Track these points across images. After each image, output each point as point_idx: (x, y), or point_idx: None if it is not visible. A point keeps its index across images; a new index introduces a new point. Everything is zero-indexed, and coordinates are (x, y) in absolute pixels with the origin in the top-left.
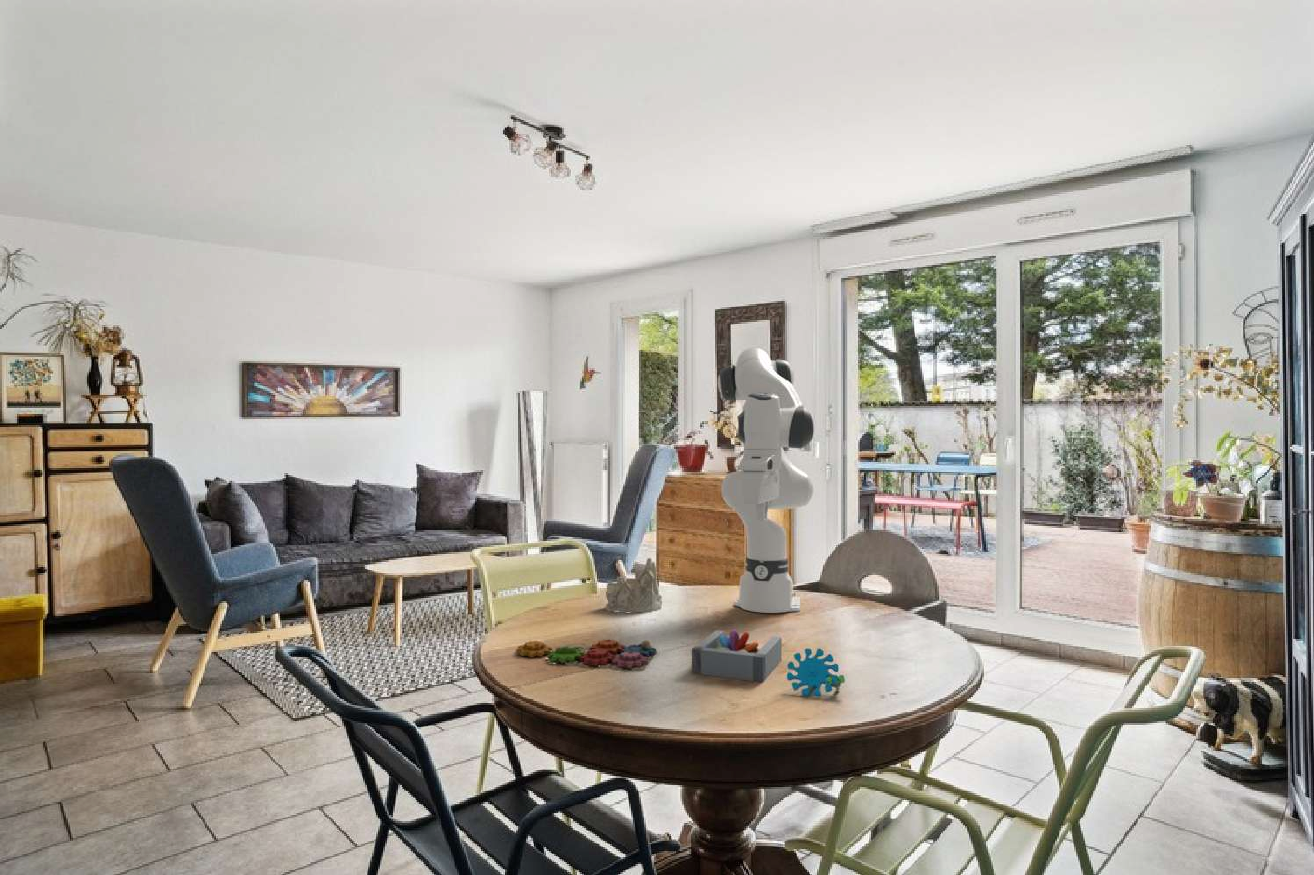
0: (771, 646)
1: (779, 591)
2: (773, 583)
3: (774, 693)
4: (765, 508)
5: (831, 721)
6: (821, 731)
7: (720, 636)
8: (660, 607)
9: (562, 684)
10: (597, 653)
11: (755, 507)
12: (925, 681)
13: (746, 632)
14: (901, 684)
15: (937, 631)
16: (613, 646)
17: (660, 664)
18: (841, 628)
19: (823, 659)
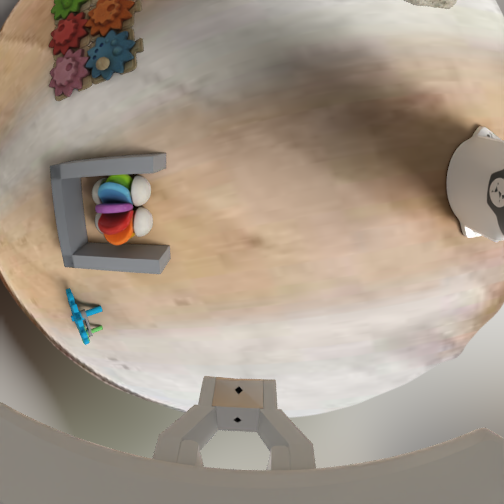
0: (108, 268)
1: (477, 216)
2: (485, 210)
3: (61, 271)
4: (271, 446)
5: (42, 321)
6: (26, 314)
7: (104, 185)
8: (416, 3)
9: (9, 62)
10: (55, 38)
11: (164, 431)
12: (176, 391)
13: (107, 232)
14: (154, 375)
15: (376, 393)
16: (98, 24)
17: (84, 105)
18: (379, 308)
19: (81, 334)
